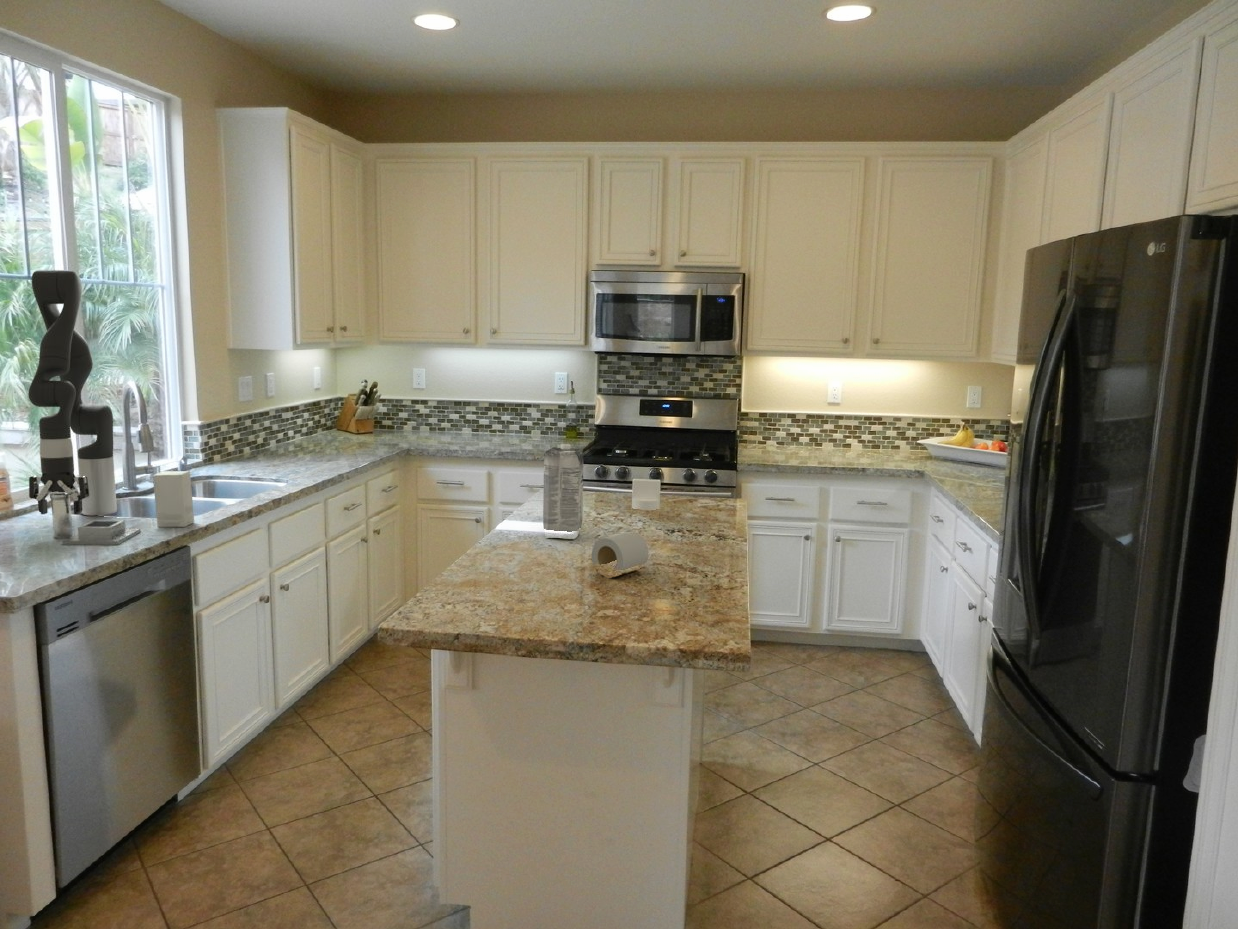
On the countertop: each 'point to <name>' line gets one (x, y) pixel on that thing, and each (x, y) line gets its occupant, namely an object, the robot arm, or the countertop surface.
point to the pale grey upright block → (61, 515)
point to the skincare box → (173, 498)
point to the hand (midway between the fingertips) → (60, 513)
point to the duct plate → (101, 533)
